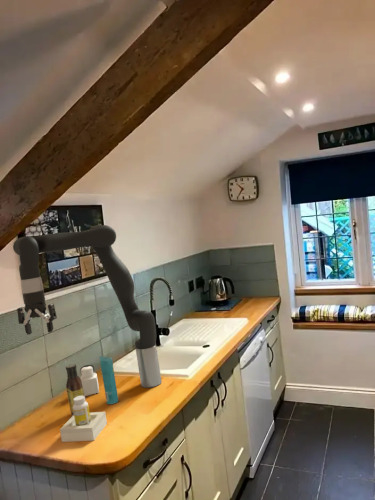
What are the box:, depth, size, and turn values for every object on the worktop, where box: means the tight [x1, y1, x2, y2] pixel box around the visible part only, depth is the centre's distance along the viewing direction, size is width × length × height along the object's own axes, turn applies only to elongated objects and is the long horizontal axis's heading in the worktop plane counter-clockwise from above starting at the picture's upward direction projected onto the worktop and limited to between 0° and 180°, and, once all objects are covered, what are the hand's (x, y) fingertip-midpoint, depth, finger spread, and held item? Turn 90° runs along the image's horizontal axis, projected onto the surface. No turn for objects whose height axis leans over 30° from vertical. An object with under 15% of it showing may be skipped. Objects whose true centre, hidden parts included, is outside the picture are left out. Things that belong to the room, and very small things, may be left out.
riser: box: [59, 411, 108, 443], centre depth 156 cm, size 12×12×4 cm
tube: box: [99, 356, 119, 405], centre depth 179 cm, size 7×5×19 cm, turn 60°
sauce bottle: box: [65, 363, 84, 416], centre depth 173 cm, size 7×6×20 cm
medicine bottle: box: [79, 364, 100, 397], centre depth 194 cm, size 7×7×12 cm
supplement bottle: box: [73, 396, 91, 426], centre depth 155 cm, size 5×5×10 cm
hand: (39, 333), depth 162 cm, fingers open, 8 cm apart
